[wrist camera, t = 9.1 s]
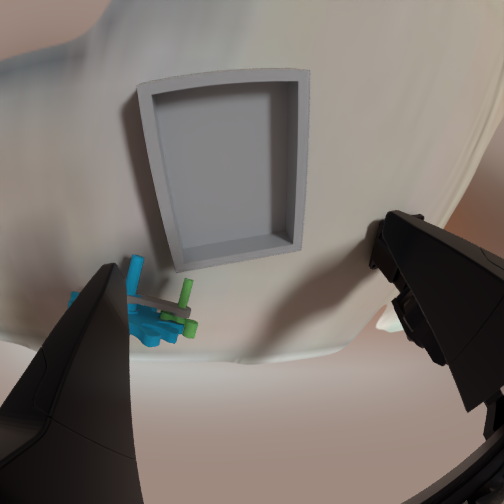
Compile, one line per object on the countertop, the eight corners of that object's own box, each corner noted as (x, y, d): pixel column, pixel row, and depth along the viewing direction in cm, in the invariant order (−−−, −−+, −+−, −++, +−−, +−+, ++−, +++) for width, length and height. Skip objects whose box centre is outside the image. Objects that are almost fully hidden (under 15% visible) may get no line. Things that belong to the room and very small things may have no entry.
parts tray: (295, 68, 17) (310, 70, 15) (291, 233, 26) (301, 250, 24) (142, 83, 15) (136, 85, 13) (175, 253, 24) (176, 272, 22)
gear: (81, 294, 24) (50, 330, 14) (93, 236, 24) (63, 243, 14) (184, 321, 28) (202, 368, 18) (199, 266, 28) (225, 289, 18)
